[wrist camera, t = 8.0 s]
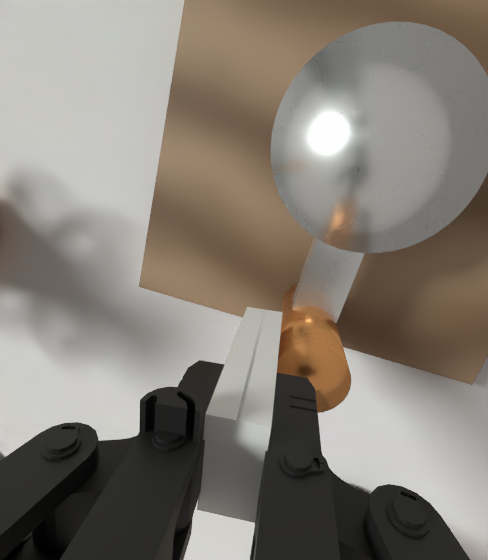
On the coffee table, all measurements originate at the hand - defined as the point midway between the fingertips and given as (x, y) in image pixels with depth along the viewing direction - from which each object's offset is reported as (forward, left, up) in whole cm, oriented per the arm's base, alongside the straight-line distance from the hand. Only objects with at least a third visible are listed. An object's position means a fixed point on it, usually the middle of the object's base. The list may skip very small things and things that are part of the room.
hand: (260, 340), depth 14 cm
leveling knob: (-6, +2, -6) cm, 8 cm away
